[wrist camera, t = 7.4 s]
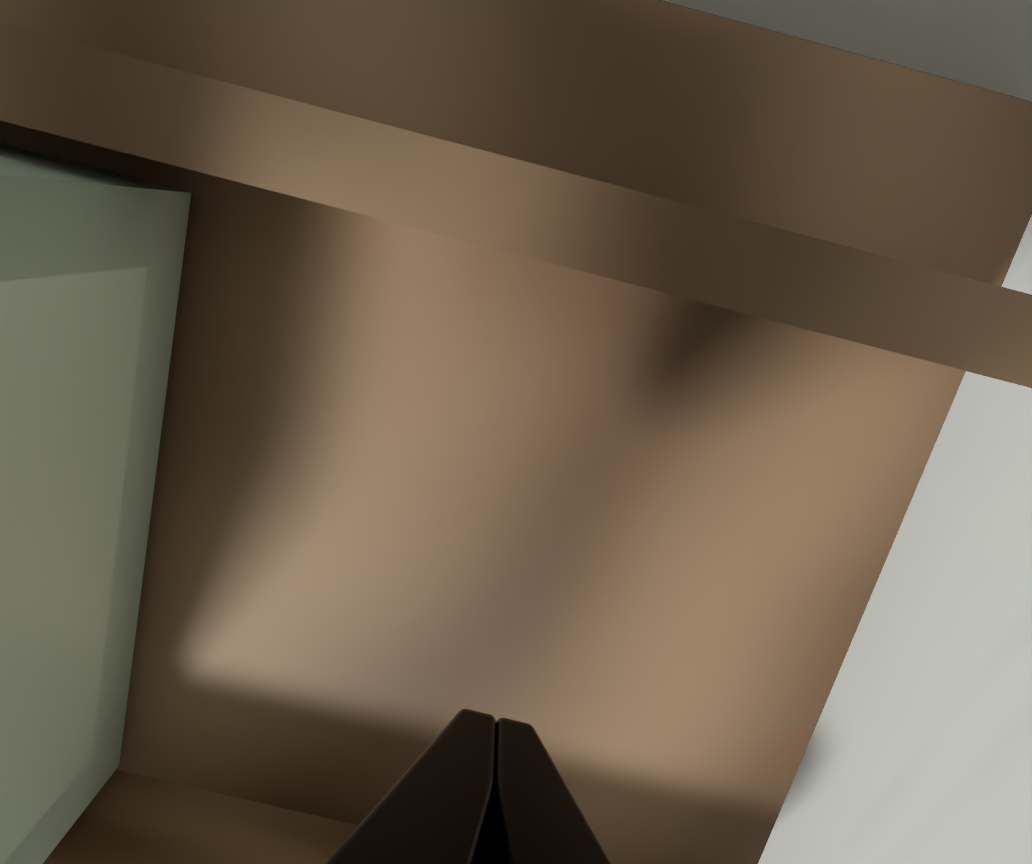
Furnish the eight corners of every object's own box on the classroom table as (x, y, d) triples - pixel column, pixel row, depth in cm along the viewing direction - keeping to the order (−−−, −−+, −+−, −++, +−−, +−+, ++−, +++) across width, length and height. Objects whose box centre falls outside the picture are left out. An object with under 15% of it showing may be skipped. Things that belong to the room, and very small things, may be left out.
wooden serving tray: (-619, 709, 15) (-955, 849, 12) (-827, -384, 10) (-1493, -679, 7) (671, 999, 16) (706, 1204, 13) (1028, 123, 11) (1237, 78, 8)
